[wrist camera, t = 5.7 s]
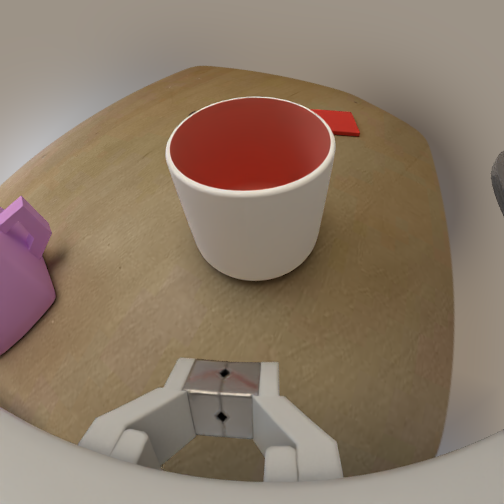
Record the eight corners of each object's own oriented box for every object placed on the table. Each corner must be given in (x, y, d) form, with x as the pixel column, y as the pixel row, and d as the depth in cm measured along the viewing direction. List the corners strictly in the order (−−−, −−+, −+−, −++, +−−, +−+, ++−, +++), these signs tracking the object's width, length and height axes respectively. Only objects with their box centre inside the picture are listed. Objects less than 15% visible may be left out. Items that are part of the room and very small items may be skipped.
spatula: (350, 115, 34) (352, 103, 32) (359, 136, 31) (362, 123, 29) (193, 115, 35) (190, 103, 33) (185, 136, 32) (182, 123, 31)
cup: (320, 288, 21) (350, 197, 13) (189, 285, 22) (143, 198, 14) (311, 190, 27) (322, 97, 18) (206, 190, 27) (185, 100, 19)
